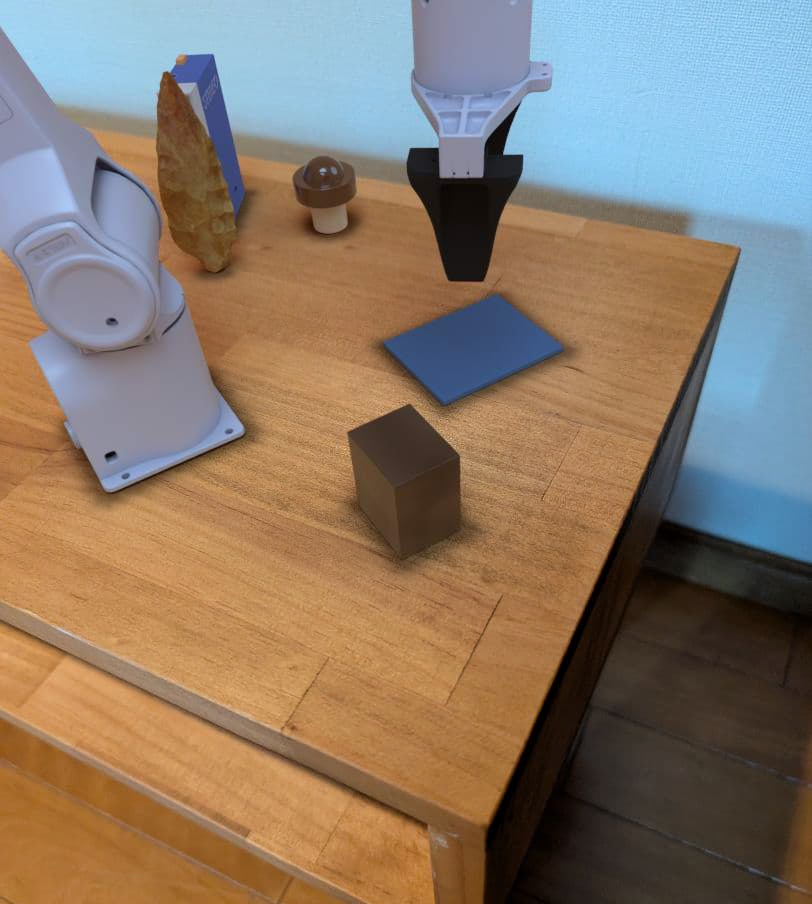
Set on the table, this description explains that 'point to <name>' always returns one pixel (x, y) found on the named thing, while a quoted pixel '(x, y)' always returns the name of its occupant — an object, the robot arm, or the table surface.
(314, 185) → the mushroom
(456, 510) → the block
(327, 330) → the table surface
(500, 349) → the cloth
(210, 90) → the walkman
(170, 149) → the stone tool
